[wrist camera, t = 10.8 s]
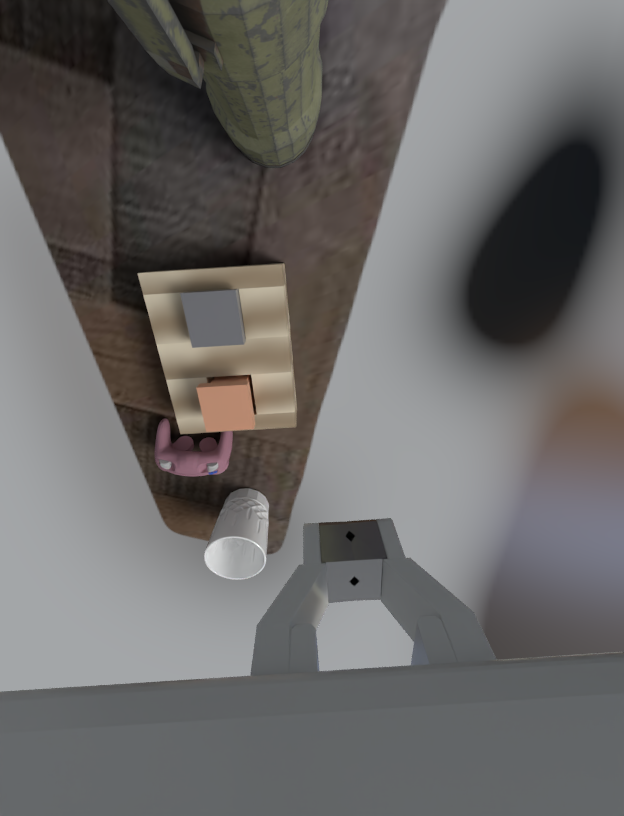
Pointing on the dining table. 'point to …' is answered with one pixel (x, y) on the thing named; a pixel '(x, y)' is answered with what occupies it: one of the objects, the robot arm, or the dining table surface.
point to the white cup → (239, 536)
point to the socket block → (257, 357)
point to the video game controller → (191, 453)
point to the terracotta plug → (227, 403)
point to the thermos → (242, 64)
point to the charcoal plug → (214, 317)
